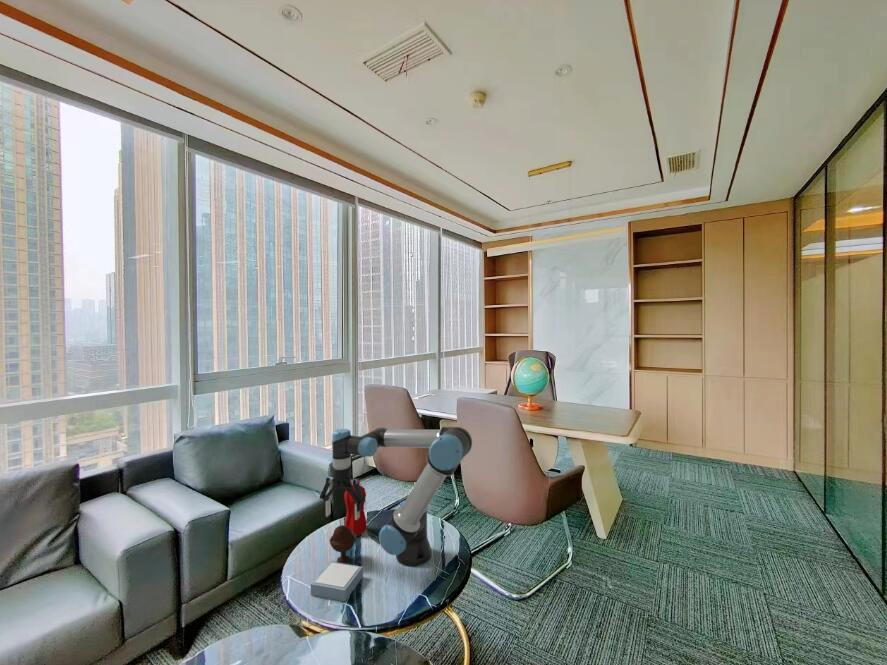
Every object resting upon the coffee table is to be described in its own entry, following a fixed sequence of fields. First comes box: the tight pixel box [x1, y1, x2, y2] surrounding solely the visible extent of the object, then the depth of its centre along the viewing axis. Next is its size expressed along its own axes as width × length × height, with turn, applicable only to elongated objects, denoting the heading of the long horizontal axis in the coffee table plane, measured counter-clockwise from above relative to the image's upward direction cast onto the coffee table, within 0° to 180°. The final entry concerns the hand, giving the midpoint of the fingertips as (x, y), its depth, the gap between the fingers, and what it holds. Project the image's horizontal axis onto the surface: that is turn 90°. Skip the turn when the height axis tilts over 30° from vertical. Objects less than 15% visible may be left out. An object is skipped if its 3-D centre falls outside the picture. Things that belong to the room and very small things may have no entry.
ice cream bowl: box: [328, 524, 357, 564], centre depth 161 cm, size 11×11×15 cm
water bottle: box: [343, 478, 368, 537], centre depth 184 cm, size 9×11×25 cm
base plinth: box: [310, 561, 364, 602], centre depth 146 cm, size 14×14×4 cm
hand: (342, 516), depth 161 cm, fingers open, 13 cm apart
